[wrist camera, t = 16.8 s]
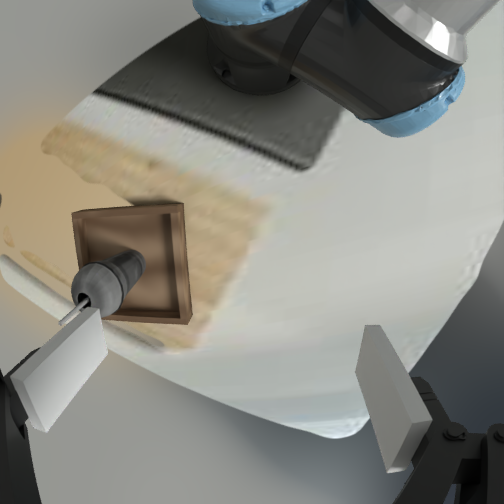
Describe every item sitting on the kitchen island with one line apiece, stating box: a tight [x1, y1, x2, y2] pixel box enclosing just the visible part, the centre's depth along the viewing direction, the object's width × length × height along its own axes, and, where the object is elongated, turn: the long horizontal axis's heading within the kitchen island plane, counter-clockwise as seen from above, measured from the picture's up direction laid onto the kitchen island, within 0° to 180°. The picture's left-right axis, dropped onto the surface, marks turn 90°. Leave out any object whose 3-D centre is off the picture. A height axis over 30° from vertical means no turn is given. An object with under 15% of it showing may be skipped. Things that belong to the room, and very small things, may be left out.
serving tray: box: [72, 203, 193, 325], centre depth 48 cm, size 18×18×4 cm
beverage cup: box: [59, 250, 146, 325], centre depth 39 cm, size 7×7×20 cm
